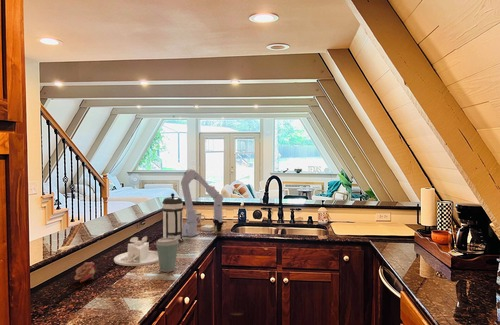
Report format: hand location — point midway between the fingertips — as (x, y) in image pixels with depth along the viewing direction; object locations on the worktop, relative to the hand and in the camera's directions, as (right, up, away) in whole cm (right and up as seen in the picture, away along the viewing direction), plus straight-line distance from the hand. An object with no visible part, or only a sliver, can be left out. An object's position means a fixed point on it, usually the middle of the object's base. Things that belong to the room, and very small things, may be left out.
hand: (218, 230), depth 257 cm
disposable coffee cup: (-17, -4, -79) cm, 81 cm away
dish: (-36, -4, -61) cm, 71 cm away
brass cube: (0, -2, 0) cm, 2 cm away
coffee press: (-25, -2, -24) cm, 35 cm away
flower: (-50, -5, -95) cm, 107 cm away
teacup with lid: (-18, -1, +28) cm, 34 cm away
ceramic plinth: (-8, -2, +9) cm, 12 cm away
